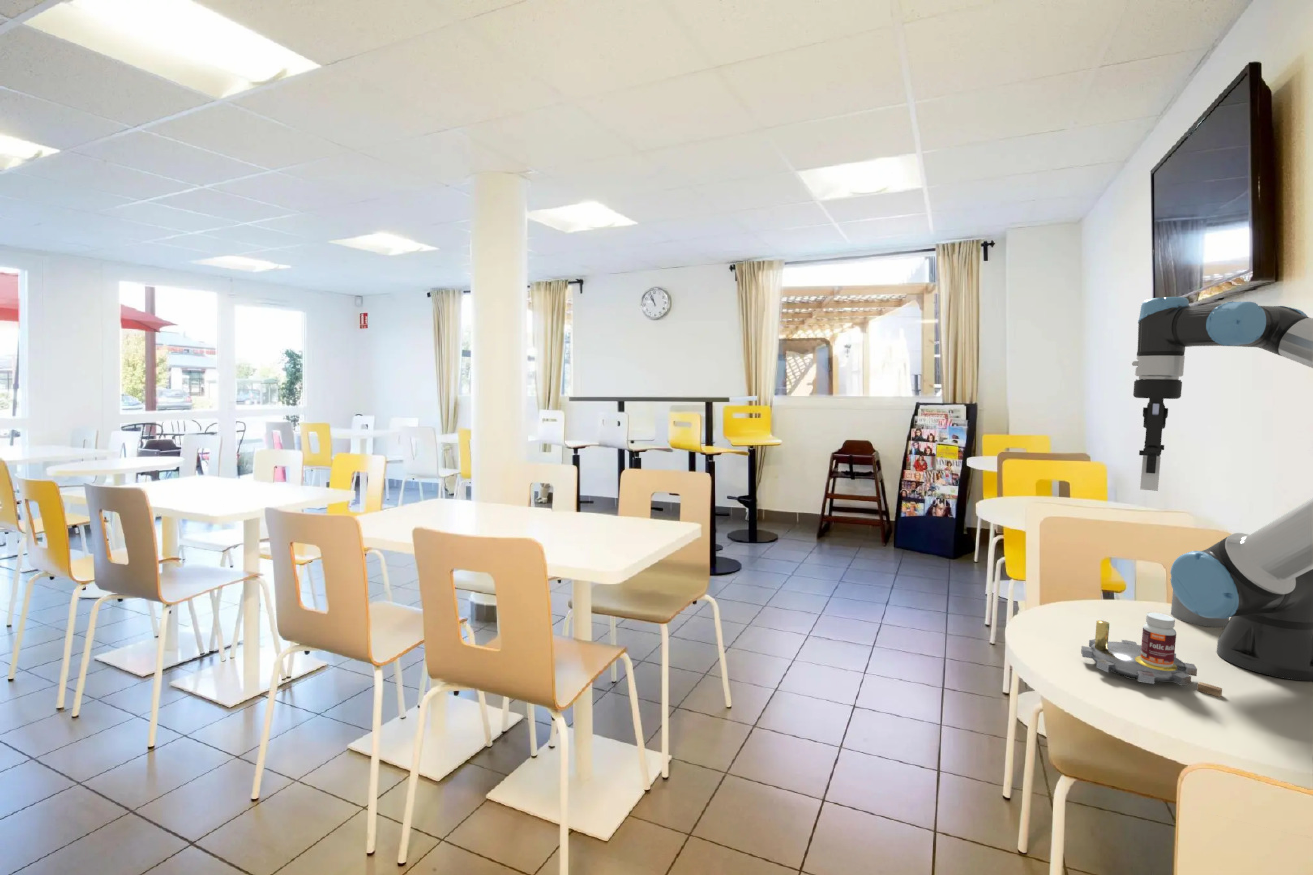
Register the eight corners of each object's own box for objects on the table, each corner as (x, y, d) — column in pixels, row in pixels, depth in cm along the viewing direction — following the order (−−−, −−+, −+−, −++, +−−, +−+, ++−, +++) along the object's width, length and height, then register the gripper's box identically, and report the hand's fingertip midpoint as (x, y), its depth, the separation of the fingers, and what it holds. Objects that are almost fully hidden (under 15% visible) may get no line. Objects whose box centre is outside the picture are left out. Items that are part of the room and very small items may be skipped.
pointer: (1197, 690, 113) (1197, 683, 113) (1199, 688, 114) (1199, 681, 114) (1219, 697, 111) (1220, 690, 111) (1221, 695, 112) (1222, 688, 111)
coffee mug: (1230, 630, 141) (1234, 584, 140) (1170, 619, 147) (1174, 575, 146) (1225, 613, 151) (1230, 570, 150) (1170, 603, 157) (1174, 562, 156)
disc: (1124, 640, 131) (1127, 609, 130) (1220, 677, 115) (1223, 642, 115) (1060, 651, 126) (1062, 618, 125) (1150, 691, 110) (1153, 654, 109)
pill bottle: (1147, 666, 116) (1151, 619, 115) (1135, 655, 121) (1138, 610, 120) (1179, 669, 115) (1183, 622, 114) (1165, 658, 120) (1169, 613, 119)
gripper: (1136, 378, 143) (1128, 476, 145) (1132, 377, 123) (1123, 491, 125) (1180, 378, 138) (1171, 479, 140) (1184, 378, 118) (1174, 496, 120)
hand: (1149, 485), depth 132 cm, fingers open, 13 cm apart
